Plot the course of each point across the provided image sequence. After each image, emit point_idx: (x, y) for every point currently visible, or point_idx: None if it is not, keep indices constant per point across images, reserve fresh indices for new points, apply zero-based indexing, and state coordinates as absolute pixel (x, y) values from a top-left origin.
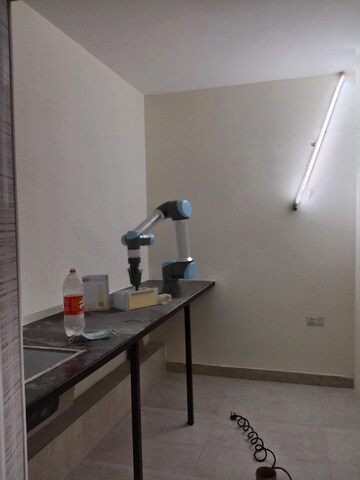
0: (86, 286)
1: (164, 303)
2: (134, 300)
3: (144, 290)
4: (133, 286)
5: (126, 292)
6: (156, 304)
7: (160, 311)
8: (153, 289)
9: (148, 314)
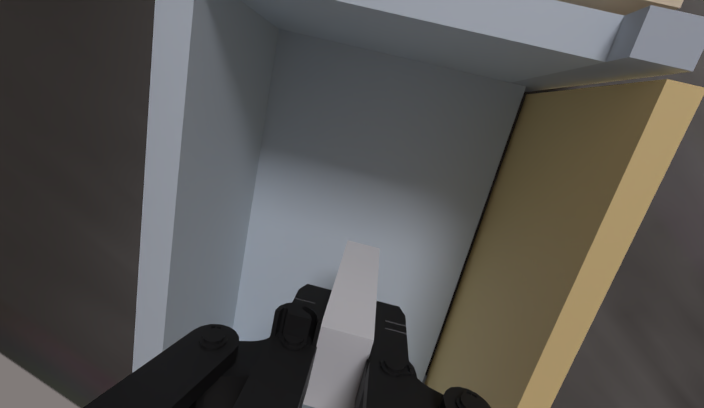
0: None
1: None
2: None
3: (572, 352)
4: (319, 401)
5: (183, 303)
6: (526, 88)
7: (696, 261)
8: (656, 162)
9: (645, 381)
